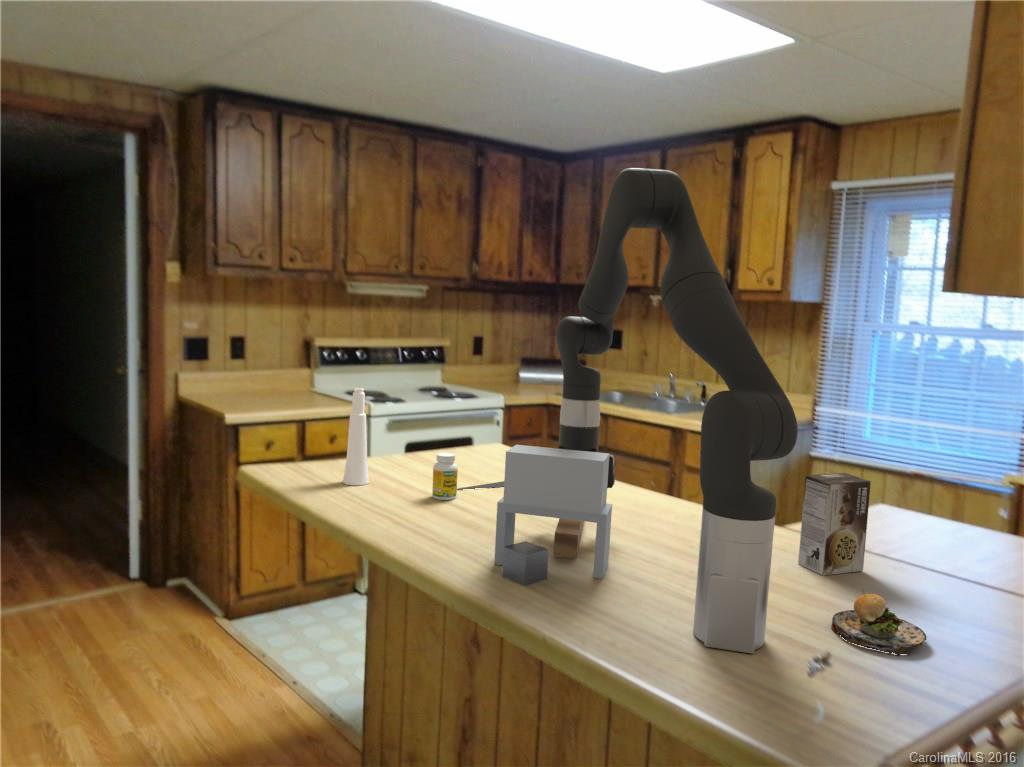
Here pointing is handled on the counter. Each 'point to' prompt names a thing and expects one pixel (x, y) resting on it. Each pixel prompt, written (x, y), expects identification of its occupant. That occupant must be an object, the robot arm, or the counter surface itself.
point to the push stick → (567, 538)
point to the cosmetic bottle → (357, 443)
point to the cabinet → (555, 494)
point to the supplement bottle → (445, 477)
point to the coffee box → (834, 523)
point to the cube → (525, 563)
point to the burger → (877, 626)
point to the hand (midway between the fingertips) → (575, 506)
